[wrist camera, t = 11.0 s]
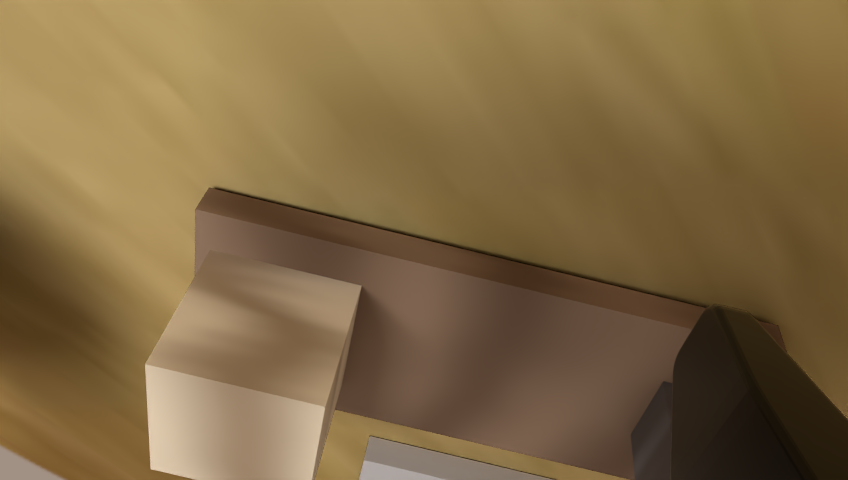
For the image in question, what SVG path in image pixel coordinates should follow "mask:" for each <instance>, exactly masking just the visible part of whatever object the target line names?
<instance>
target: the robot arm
mask: <svg viewBox="0 0 848 480" xmlns="http://www.w3.org/2000/svg"><path fill="white" fill-rule="evenodd" d="M670 480H848V419H847V418H846V417H845V416H844V415H843V414H842V413H841V412H840V411H839V409H838V408H837V407H836V406H835V405H834V404H833V403H832V402H831V401H830V400H829V399H828V397H827V396H826V395H825V394H824V393H823V392H822V391H821V390H820V389H819V388H818V387H817V385H816V384H815V383H814V382H813V381H812V380H811V379H810V378H809V377H808V376H807V374H806V373H805V372H804V371H803V370H802V369H801V368H800V367H799V366H798V365H797V364H796V362H795V361H794V360H793V359H792V358H791V357H790V356H789V355H788V354H787V353H786V352H785V350H784V349H783V348H782V347H781V346H780V345H779V344H778V343H777V342H776V341H775V340H774V338H773V337H772V336H771V335H770V334H769V333H768V332H767V331H766V330H765V329H764V328H763V326H762V325H761V324H760V323H759V322H758V321H757V320H756V319H755V318H754V317H753V316H752V315H751V314H750V313H748V312H746V311H744V310H740V309H736V308H732V307H728V306H723V305H719V304H713V305H710V306H708V307H707V308H706V309H705V310H704V311H703V313H702V314H701V316H700V317H699V319H698V321H697V322H696V324H695V325H694V327H693V329H692V330H691V332H690V334H689V335H688V337H687V339H686V340H685V342H684V343H683V345H682V347H681V348H680V350H679V352H678V354H677V356H676V359H675V363H674V367H673V384H672V426H671V469H670Z"/></svg>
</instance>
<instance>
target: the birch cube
mask: <svg viewBox="0 0 848 480" xmlns="http://www.w3.org/2000/svg"><path fill="white" fill-rule="evenodd" d="M361 287H362V286H360V285H356V284H352V283H348V282H344V281H340V280H335V279H331V278H327V277H323V276H319V275H315V274H311V273H306V272H302V271H298V270H294V269H290V268H286V267H281V266H277V265H273V264H269V263H265V262H261V261H257V260H252V259H248V258H244V257H240V256H236V255H232V254H228V253H223V252H219V251H215V250H211V249H210V251H209V253H208V255H207V256H206V258H205V260H204V262H203V263H202V265H201V267H200V269H199V270H198V272H197V274H196V276H195V277H194V279H193V281H192V283H191V284H190V286H189V288H188V290H187V291H186V293H185V295H184V297H183V298H182V300H181V302H180V304H179V306H178V307H177V309H176V311H175V313H174V314H173V316H172V318H171V320H170V321H169V323H168V325H167V327H166V328H165V330H164V332H163V334H162V335H161V337H160V339H159V341H158V342H157V344H156V346H155V348H154V349H153V351H152V353H151V355H150V356H149V358H148V360H147V362H146V363H145V372H146V390H147V409H148V428H149V446H150V465H151V469H152V470H157V471H161V472H165V473H170V474H174V475H178V476H182V477H187V478H191V479H195V480H315V477H316V473H317V470H318V466H319V463H320V459H321V456H322V452H323V449H324V445H325V442H326V438H327V435H328V431H329V428H330V424H331V421H332V417H333V414H334V410H335V407H336V403H337V400H338V396H339V393H340V389H341V386H342V382H343V377H344V372H345V367H346V362H347V357H348V352H349V347H350V342H351V337H352V332H353V327H354V322H355V317H356V312H357V307H358V302H359V297H360V292H361Z"/></svg>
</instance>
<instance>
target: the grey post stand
mask: <svg viewBox="0 0 848 480" xmlns="http://www.w3.org/2000/svg"><path fill="white" fill-rule="evenodd" d="M210 249H211V250H215V251H219V252H223V253H228V254H232V255H236V256H240V257H244V258H248V259H252V260H257V261H261V262H265V263H269V264H273V265H277V266H281V267H286V268H290V269H294V270H298V271H302V272H306V273H311V274H315V275H319V276H323V277H327V278H331V279H335V280H340V281H344V282H348V283H352V284H356V285H360V286H362V287H361V292H360V297H359V302H358V307H357V312H356V317H355V322H354V327H353V332H352V337H351V342H350V347H349V352H348V357H347V362H346V367H345V372H344V377H343V382H342V386H341V389H340V393H339V396H338V400H337V403H336V407H335V409H336V410H340V411H344V412H348V413H352V414H357V415H361V416H365V417H369V418H374V419H378V420H382V421H386V422H390V423H395V424H399V425H403V426H407V427H411V428H416V429H420V430H424V431H428V432H432V433H437V434H441V435H445V436H449V437H453V438H458V439H462V440H466V441H470V442H475V443H479V444H483V445H487V446H491V447H496V448H500V449H504V450H508V451H512V452H517V453H521V454H525V455H529V456H533V457H538V458H542V459H546V460H550V461H555V462H559V463H563V464H567V465H571V466H576V467H580V468H584V469H588V470H592V471H597V472H601V473H605V474H609V475H613V476H618V477H622V478H626V479H630V480H670V469H671V426H672V384H673V367H674V363H675V359H676V356H677V354H678V352H679V350H680V348H681V347H682V345H683V343H684V342H685V340H686V339H687V337H688V335H689V334H690V332H691V330H692V329H693V327H694V325H695V324H696V322H697V321H698V319H699V317H700V316H701V314H702V313H703V311H704V310H705V309H706V308H704V307H700V306H695V305H691V304H687V303H683V302H679V301H675V300H671V299H667V298H662V297H658V296H654V295H650V294H646V293H642V292H638V291H634V290H629V289H625V288H621V287H617V286H613V285H609V284H605V283H600V282H596V281H592V280H588V279H584V278H580V277H576V276H572V275H567V274H563V273H559V272H555V271H551V270H547V269H543V268H539V267H534V266H530V265H526V264H522V263H518V262H514V261H510V260H506V259H501V258H497V257H493V256H489V255H485V254H481V253H477V252H473V251H468V250H464V249H460V248H456V247H452V246H448V245H444V244H440V243H435V242H431V241H427V240H423V239H419V238H415V237H411V236H407V235H402V234H398V233H394V232H390V231H386V230H382V229H378V228H374V227H369V226H365V225H361V224H357V223H353V222H349V221H345V220H341V219H336V218H332V217H328V216H324V215H320V214H316V213H312V212H308V211H303V210H299V209H295V208H291V207H287V206H283V205H279V204H275V203H270V202H266V201H262V200H258V199H254V198H250V197H246V196H242V195H237V194H233V193H229V192H225V191H221V190H217V189H213V188H209V189H208V190H207V192H206V193H205V195H204V197H203V198H202V200H201V201H200V203H199V204H198V206H197V208H196V209H195V276H196V274H197V272H198V270H199V269H200V267H201V265H202V263H203V262H204V260H205V258H206V256H207V255H208V253H209V251H210ZM758 322H759V323H760V324H761V325H762V326H763V328H764V329H765V330H766V331H767V332H768V333H769V334H770V335H771V336H772V337H773V338H774V340H775V341H776V342H777V343H778V344H779V345H780V346H781V347H782V348H783V349H784V350H785V352H786V353H787V351H786V348H785V345H784V342H783V339H782V336H781V333H780V330H779V327H778V325H774V324H770V323H766V322H761V321H758Z"/></svg>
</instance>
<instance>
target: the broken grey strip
mask: <svg viewBox="0 0 848 480" xmlns="http://www.w3.org/2000/svg"><path fill="white" fill-rule="evenodd" d="M359 480H553V479H549V478H545V477H541V476H537V475H532V474H528V473H524V472H520V471H516V470H511V469H507V468H503V467H499V466H494V465H490V464H486V463H482V462H478V461H473V460H469V459H465V458H461V457H456V456H452V455H448V454H444V453H440V452H435V451H431V450H427V449H423V448H419V447H414V446H410V445H406V444H402V443H397V442H393V441H389V440H385V439H381V438H376V437H372V436H370V437H369V441H368V445H367V449H366V453H365V457H364V461H363V465H362V469H361V473H360V477H359Z"/></svg>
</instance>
